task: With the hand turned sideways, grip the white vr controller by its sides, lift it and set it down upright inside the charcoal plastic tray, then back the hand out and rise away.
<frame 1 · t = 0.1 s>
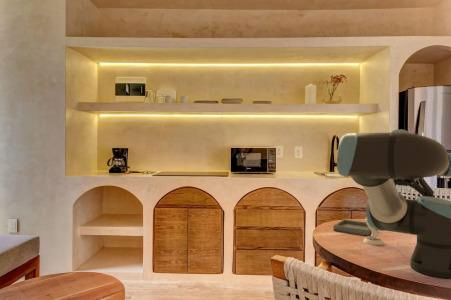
hand: (405, 205, 143), 15 cm above the table, tool tilted 35°, fingers open, 13 cm apart
tray: (354, 229, 162), on the table
white vr controller: (373, 243, 142), on the table
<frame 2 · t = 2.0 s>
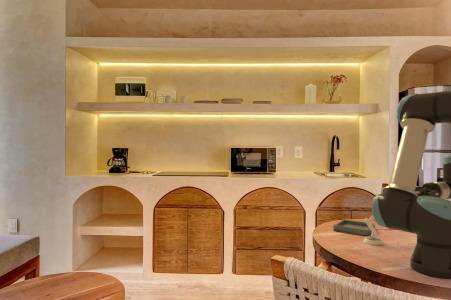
hand: (393, 193, 144), 20 cm above the table, tool horizontal, fingers open, 13 cm apart
nothing on the table moved.
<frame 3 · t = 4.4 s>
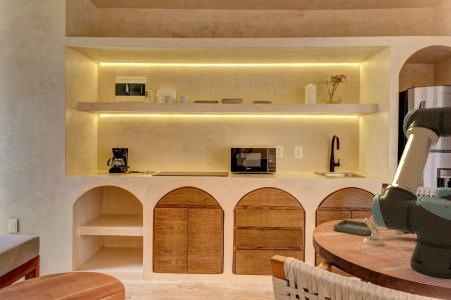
hand: (384, 227, 144), 6 cm above the table, tool horizontal, fingers open, 13 cm apart
nothing on the table moved.
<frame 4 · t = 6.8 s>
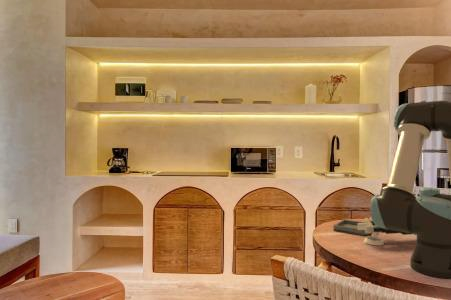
hand: (361, 228, 141), 6 cm above the table, tool horizontal, fingers closed on white vr controller, 4 cm apart
white vr controller: (373, 242, 142), on the table, touching gripper
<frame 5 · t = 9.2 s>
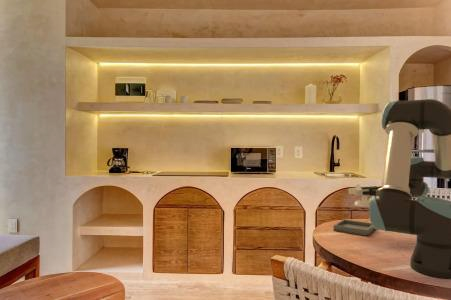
hand: (352, 192, 155), 19 cm above the table, tool horizontal, fingers closed on white vr controller, 4 cm apart
white vr controller: (363, 205, 156), point 13 cm above the table, touching gripper
when the fingers open (8 cm above the table, at t = 11.8 s): white vr controller moves 4 cm, resting on tray.
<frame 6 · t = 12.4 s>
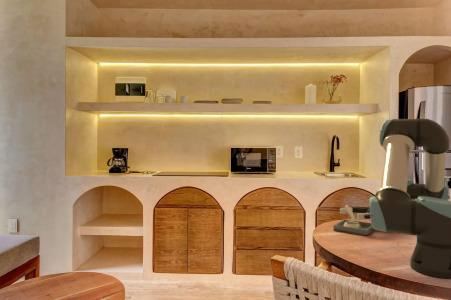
hand: (348, 213, 161), 8 cm above the table, tool horizontal, fingers open, 13 cm apart
white vr controller: (352, 226, 165), point 1 cm above the table, touching gripper, tray
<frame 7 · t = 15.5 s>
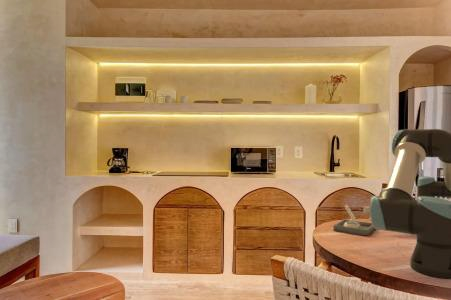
hand: (373, 212, 164), 8 cm above the table, tool horizontal, fingers open, 13 cm apart
white vr controller: (351, 226, 165), point 1 cm above the table, touching tray
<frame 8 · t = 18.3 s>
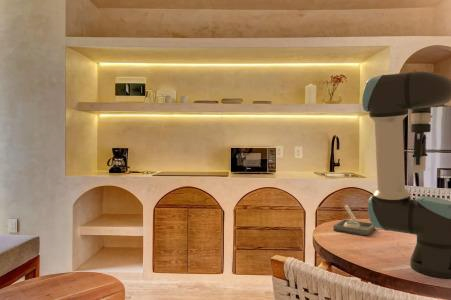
hand: (419, 171, 151), 29 cm above the table, tool pointing down, fingers open, 13 cm apart
nothing on the table moved.
at the end: white vr controller inside the target area on the tray (3.0 cm from its centre), point 0.6 cm above the tray's base; white vr controller tilted 0°; the gripper is holding nothing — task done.
